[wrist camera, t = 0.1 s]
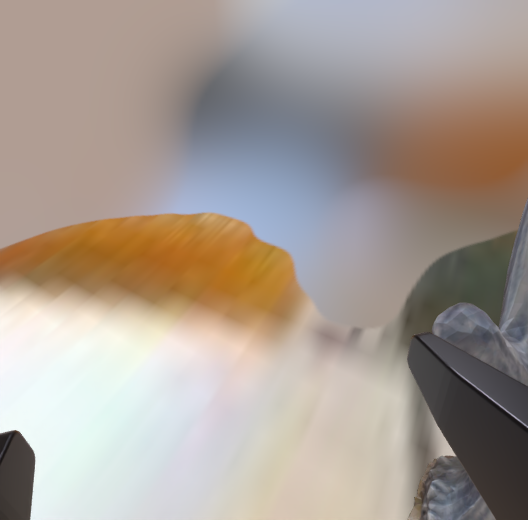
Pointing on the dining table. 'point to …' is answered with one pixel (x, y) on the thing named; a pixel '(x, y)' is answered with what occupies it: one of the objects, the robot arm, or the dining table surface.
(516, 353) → the antler
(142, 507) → the dining table surface
